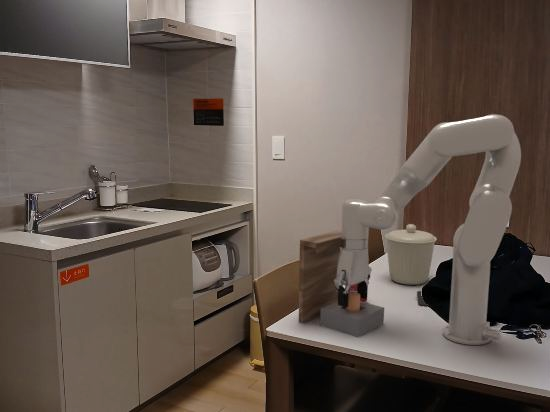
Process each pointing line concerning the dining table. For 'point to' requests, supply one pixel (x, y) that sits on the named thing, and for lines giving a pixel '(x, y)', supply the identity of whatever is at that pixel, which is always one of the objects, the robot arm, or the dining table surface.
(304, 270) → the wooden board
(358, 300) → the peg
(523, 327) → the dining table surface
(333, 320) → the socket block
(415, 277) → the canister
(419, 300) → the phone
